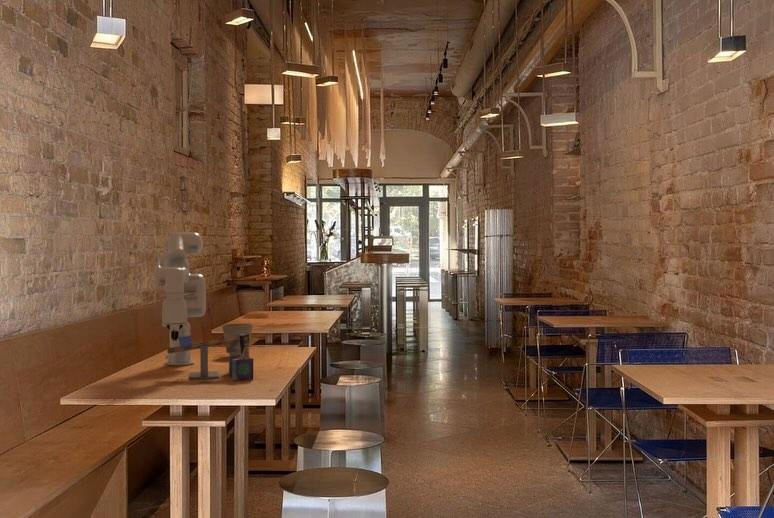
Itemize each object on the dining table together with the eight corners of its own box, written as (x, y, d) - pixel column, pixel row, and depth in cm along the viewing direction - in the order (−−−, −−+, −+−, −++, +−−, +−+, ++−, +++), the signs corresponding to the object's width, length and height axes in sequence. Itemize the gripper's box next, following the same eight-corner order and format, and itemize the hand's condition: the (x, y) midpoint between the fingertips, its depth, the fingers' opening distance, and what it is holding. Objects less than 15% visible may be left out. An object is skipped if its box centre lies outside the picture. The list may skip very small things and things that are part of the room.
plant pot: (258, 355, 426) (258, 324, 425) (239, 358, 413) (238, 326, 412) (236, 353, 433) (235, 322, 433) (216, 356, 420) (216, 325, 420)
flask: (233, 381, 346) (233, 355, 346) (230, 380, 349) (230, 354, 348) (254, 379, 351) (254, 354, 351) (251, 378, 353) (251, 353, 353)
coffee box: (242, 372, 371) (242, 335, 370) (228, 371, 372) (228, 335, 372) (249, 369, 380) (249, 333, 379) (236, 368, 381) (236, 333, 381)
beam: (169, 363, 351) (167, 350, 351) (169, 360, 359) (167, 348, 359) (241, 351, 358) (239, 338, 358) (240, 348, 366) (238, 336, 365)
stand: (189, 379, 350) (189, 347, 350) (189, 374, 364) (189, 343, 364) (237, 378, 355) (236, 345, 354) (235, 373, 368) (235, 342, 368)
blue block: (180, 348, 354) (178, 337, 353) (180, 347, 358) (178, 336, 358) (192, 346, 355) (190, 335, 354) (192, 345, 359) (190, 334, 359)
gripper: (155, 297, 350) (156, 341, 350) (192, 297, 353) (192, 340, 353) (156, 296, 357) (157, 340, 357) (192, 296, 360) (193, 339, 360)
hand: (174, 340), depth 355 cm, fingers closed
